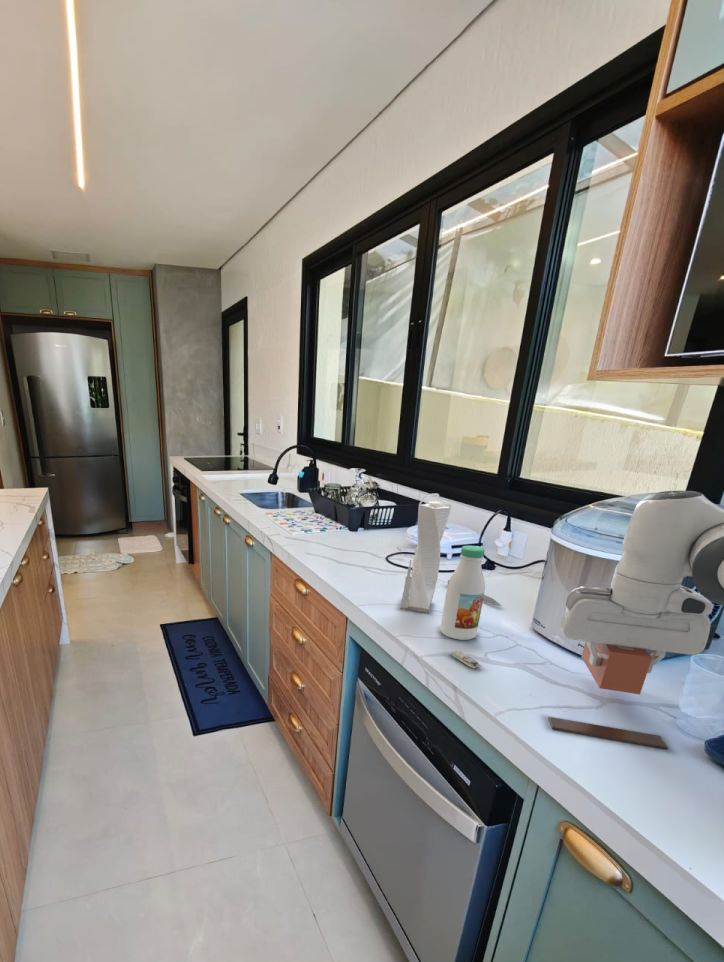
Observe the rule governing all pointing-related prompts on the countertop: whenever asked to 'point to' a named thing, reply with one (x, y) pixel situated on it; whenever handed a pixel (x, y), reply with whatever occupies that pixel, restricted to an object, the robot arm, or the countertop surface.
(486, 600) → the kitchen knife
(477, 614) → the milk bottle
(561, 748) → the countertop surface
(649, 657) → the tissue box
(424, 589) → the skyscraper
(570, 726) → the walnut ruler
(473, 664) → the granola bar
